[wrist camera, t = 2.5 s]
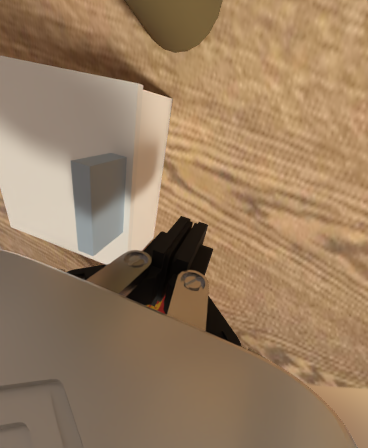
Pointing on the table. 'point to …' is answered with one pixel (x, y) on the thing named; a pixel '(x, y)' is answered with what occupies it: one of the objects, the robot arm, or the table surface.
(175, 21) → the cork
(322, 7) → the table surface
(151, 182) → the white hollow box
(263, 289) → the table surface
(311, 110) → the table surface
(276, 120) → the table surface
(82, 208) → the lid
